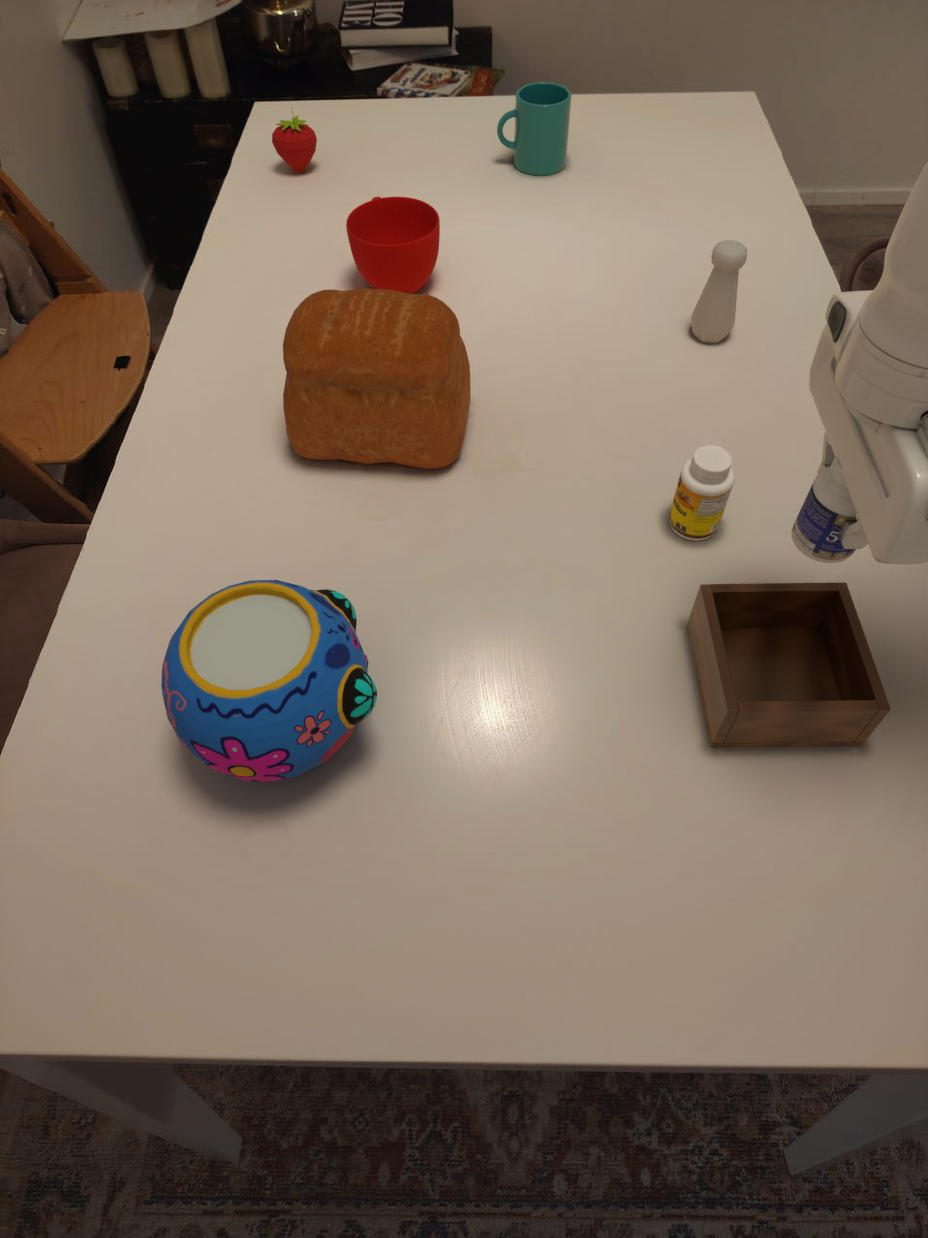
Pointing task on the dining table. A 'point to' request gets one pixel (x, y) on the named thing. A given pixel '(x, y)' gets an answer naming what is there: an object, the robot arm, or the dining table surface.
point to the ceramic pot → (267, 679)
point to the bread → (376, 378)
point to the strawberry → (295, 143)
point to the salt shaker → (719, 293)
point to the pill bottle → (824, 517)
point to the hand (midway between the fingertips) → (838, 510)
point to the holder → (784, 666)
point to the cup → (539, 128)
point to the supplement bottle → (702, 493)
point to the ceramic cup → (394, 242)
